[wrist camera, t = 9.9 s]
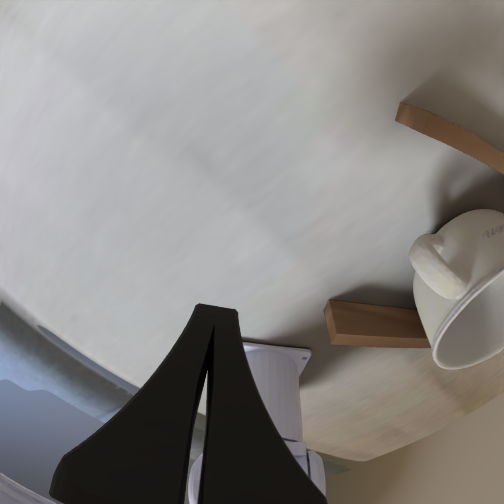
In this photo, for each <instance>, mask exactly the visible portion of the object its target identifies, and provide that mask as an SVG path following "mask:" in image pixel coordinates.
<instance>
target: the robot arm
mask: <svg viewBox="0 0 504 504" xmlns="http://www.w3.org/2000/svg"><path fill="white" fill-rule="evenodd" d="M311 355H312V354H311V350H309V349H300V348H290V347H280V346H271V345H263V344H255V343H247V342H242V337H241V333H240V327H239V319H238V312H237V311H236V309H230V308H224V307H218V306H212V305H206V304H200V303H199V304H197V305H196V306H195V309H194V311H193V313H192V315H191V317H190V319H189V321H188V323H187V325H186V327H185V328H184V330H183V332H182V334H181V335H180V337H179V338H178V340H177V341H176V343H175V344H174V346H173V348H172V349H171V351H170V352H169V353H168V355H167V356H166V358H165V359H164V360H163V362H162V363H161V364H160V366H159V367H158V368H157V370H156V371H155V372H154V373H153V375H152V376H151V377H150V378H149V380H148V381H147V382H146V383H145V384H144V385H143V387H142V388H141V389H140V390H139V391H138V392H137V393H136V394H135V395H134V396H133V398H132V399H131V400H130V401H129V402H128V403H127V404H126V405H125V406H124V407H123V408H122V409H121V410H120V411H119V412H118V413H117V414H116V415H114V416H113V417H112V418H111V419H110V420H109V421H108V422H107V423H105V424H104V425H103V426H102V427H101V428H100V429H98V430H97V431H96V432H95V433H94V434H92V435H91V436H90V437H89V438H87V439H86V440H85V441H83V442H82V443H81V444H80V445H78V446H77V447H75V448H74V449H72V450H71V451H70V452H68V453H67V454H65V455H64V456H63V457H62V459H61V461H60V463H59V464H58V466H57V468H56V470H55V473H54V475H53V479H52V483H51V487H50V491H49V494H50V496H51V497H52V498H54V499H56V500H58V501H60V502H62V503H64V504H184V500H185V491H186V481H187V474H188V466H189V457H190V450H191V442H192V435H193V429H194V424H195V419H196V415H197V411H198V407H199V403H200V399H201V395H202V391H203V387H204V383H205V378H206V374H207V370H208V375H207V401H206V429H205V439H204V448H203V454H201V455H200V456H199V458H198V459H196V460H195V462H194V463H193V466H192V468H191V472H190V477H189V485H188V489H189V490H188V494H189V501H190V504H328V503H327V500H326V497H325V496H326V492H325V474H324V467H323V462H322V459H321V457H320V456H319V455H318V454H316V452H315V451H308V452H307V457H306V442H303V432H302V417H301V404H300V391H299V377H300V375H301V373H302V371H303V370H304V368H305V366H306V364H307V362H308V361H309V359H310V357H311ZM0 504H56V503H54V502H52V501H50V500H48V499H46V498H44V497H41V496H40V495H38V494H36V493H34V492H32V491H30V490H28V489H27V488H25V487H23V486H21V485H19V484H18V483H16V482H14V481H13V480H11V479H9V478H8V477H6V476H5V475H3V474H2V473H0Z"/></svg>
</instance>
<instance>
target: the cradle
mask: <svg viewBox="0 0 504 504" xmlns="http://www.w3.org/2000/svg"><path fill="white" fill-rule="evenodd" d="M395 121H397V122H399V123H401V124H404V125H406V126H408V127H410V128H412V129H414V130H416V131H418V132H420V133H422V134H425V135H427V136H429V137H432V138H434V139H436V140H438V141H441V142H443V143H445V144H447V145H449V146H451V147H454V148H456V149H458V150H460V151H462V152H464V153H466V154H468V155H470V156H472V157H473V158H475V159H477V160H479V161H481V162H483V163H485V164H486V165H488V166H490V167H492V168H494V169H495V170H497V171H499V172H500V173H502V174H504V153H503V152H501V151H500V150H498V149H496V148H495V147H493V146H492V145H490V144H488V143H487V142H485V141H483V140H482V139H480V138H478V137H477V136H475V135H473V134H471V133H469V132H468V131H466V130H464V129H462V128H460V127H458V126H457V125H455V124H453V123H451V122H449V121H447V120H445V119H443V118H441V117H439V116H437V115H435V114H432V113H430V112H428V111H425V110H422V109H419V108H416V107H413V106H410V105H406V104H403V103H400V105H399V108H398V112H397V116H396V119H395ZM324 314H325V319H326V323H327V328H328V333H329V338H330V344H335V345H349V346H367V347H392V348H431V345H430V343H429V340H428V337H427V335H426V332H425V330H424V327H423V324H422V321H421V318H420V316H419V313H418V310H417V309H406V308H397V307H387V306H378V305H369V304H360V303H352V302H343V301H335V300H328V302H327V305H326V307H325V309H324Z"/></svg>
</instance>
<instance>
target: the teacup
mask: <svg viewBox="0 0 504 504" xmlns="http://www.w3.org/2000/svg"><path fill="white" fill-rule="evenodd" d="M409 258H410V261H411V263H412V265H413V267H414V269H415V273H414V279H413V293H414V299H415V303H416V307H417V310H418V313H419V316H420V318H421V321H422V324H423V327H424V330H425V332H426V335H427V337H428V340H429V343H430V345H431V348H432V356H433V359H434V361H435V362H436V364H437V365H438V366H440V367H442V368H445V369H460V368H466V367H470V366H473V365H475V364H478V363H480V362H483V361H485V360H487V359H489V358H491V357H492V356H494V355H496V354H497V353H499V352H500V351H502V350H503V349H504V214H503V213H501V212H498V211H495V210H492V209H477V210H472V211H469V212H466V213H464V214H461V215H459V216H458V217H456V218H454V219H453V220H451V221H450V222H448V223H447V224H446V225H444V226H443V227H442V228H441V229H440V230H439V231H438V232H437V233H436V234H430V235H429V234H424V235H421V236H420V237H419V238H418V239H417V240H416V241H415V242H414V244H413V245H412V247H411V249H410V251H409Z"/></svg>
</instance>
